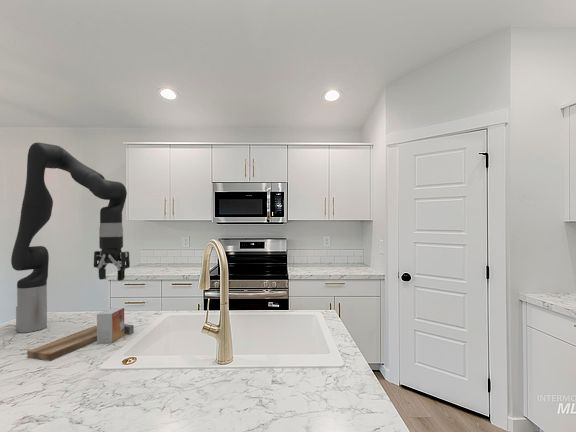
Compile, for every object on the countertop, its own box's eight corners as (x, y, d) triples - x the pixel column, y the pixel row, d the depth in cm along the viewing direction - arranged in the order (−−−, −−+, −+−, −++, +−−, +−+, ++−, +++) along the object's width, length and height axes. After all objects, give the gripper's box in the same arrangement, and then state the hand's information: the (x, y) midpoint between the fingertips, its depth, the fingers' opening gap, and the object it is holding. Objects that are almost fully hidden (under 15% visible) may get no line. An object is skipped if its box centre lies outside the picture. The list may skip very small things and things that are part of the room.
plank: (27, 357, 97) (27, 350, 97) (95, 330, 120) (95, 325, 120) (50, 361, 94) (50, 354, 94) (115, 333, 117) (115, 327, 117)
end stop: (116, 333, 117) (116, 325, 117) (121, 331, 119) (121, 323, 119) (129, 334, 115) (129, 326, 115) (133, 332, 117) (133, 325, 117)
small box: (112, 343, 107) (111, 313, 107) (96, 343, 107) (96, 313, 107) (125, 335, 115) (124, 307, 115) (110, 335, 115) (110, 307, 115)
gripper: (87, 235, 110) (87, 280, 110) (118, 236, 106) (118, 282, 106) (105, 234, 117) (105, 277, 117) (135, 234, 113) (135, 278, 113)
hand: (111, 279), depth 111 cm, fingers open, 8 cm apart
